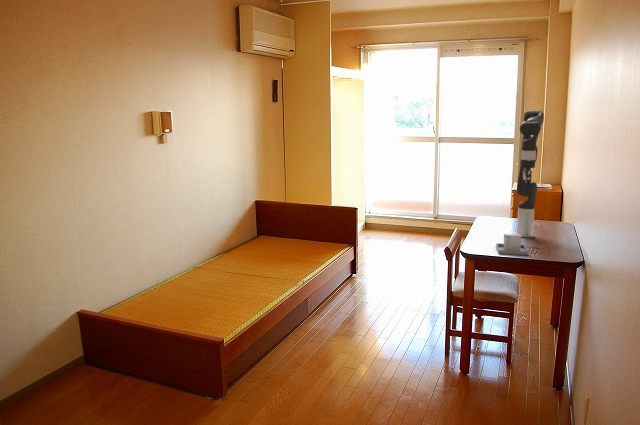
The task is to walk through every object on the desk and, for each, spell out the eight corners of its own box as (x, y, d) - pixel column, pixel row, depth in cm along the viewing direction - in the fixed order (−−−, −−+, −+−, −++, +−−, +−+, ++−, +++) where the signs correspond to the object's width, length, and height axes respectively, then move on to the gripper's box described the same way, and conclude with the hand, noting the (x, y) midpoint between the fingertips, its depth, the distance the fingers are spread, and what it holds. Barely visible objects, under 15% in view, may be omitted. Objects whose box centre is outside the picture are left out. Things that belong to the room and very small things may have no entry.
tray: (495, 247, 295) (496, 243, 294) (524, 248, 291) (524, 244, 291) (498, 254, 281) (498, 250, 280) (528, 255, 277) (528, 251, 277)
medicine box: (517, 249, 288) (518, 233, 286) (520, 251, 284) (521, 235, 282) (503, 249, 288) (503, 233, 287) (505, 251, 284) (506, 235, 282)
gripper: (519, 157, 294) (517, 186, 297) (522, 159, 281) (520, 190, 284) (533, 157, 293) (531, 186, 296) (537, 160, 279) (535, 190, 282)
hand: (526, 188), depth 290 cm, fingers open, 8 cm apart
